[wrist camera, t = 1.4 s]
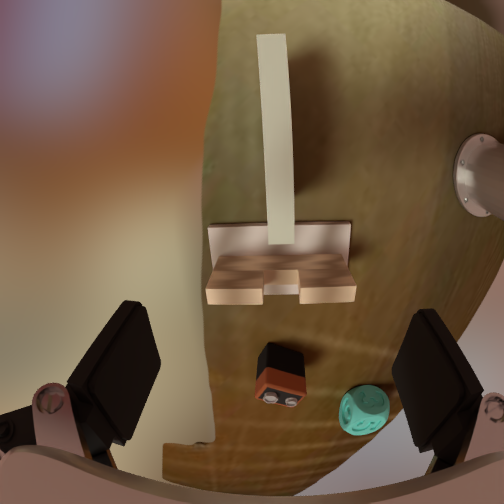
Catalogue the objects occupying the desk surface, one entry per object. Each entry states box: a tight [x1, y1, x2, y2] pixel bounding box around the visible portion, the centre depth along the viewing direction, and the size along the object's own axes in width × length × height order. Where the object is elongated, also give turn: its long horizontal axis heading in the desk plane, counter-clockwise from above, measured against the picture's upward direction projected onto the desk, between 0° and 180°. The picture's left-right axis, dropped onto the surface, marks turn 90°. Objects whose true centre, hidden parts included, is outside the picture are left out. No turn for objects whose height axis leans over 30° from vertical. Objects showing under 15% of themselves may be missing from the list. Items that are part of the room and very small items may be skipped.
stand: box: [206, 221, 356, 305], centre depth 33 cm, size 18×10×9 cm, turn 93°
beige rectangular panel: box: [257, 34, 294, 245], centre depth 25 cm, size 2×16×14 cm, turn 3°
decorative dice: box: [339, 385, 389, 435], centre depth 46 cm, size 8×8×8 cm
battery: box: [255, 343, 307, 408], centre depth 41 cm, size 4×7×10 cm, turn 67°
